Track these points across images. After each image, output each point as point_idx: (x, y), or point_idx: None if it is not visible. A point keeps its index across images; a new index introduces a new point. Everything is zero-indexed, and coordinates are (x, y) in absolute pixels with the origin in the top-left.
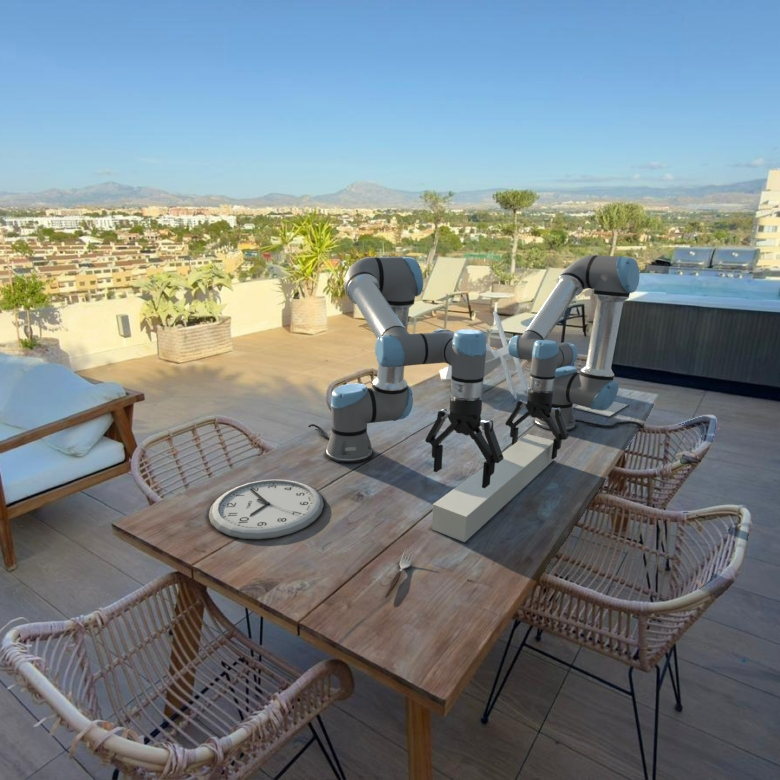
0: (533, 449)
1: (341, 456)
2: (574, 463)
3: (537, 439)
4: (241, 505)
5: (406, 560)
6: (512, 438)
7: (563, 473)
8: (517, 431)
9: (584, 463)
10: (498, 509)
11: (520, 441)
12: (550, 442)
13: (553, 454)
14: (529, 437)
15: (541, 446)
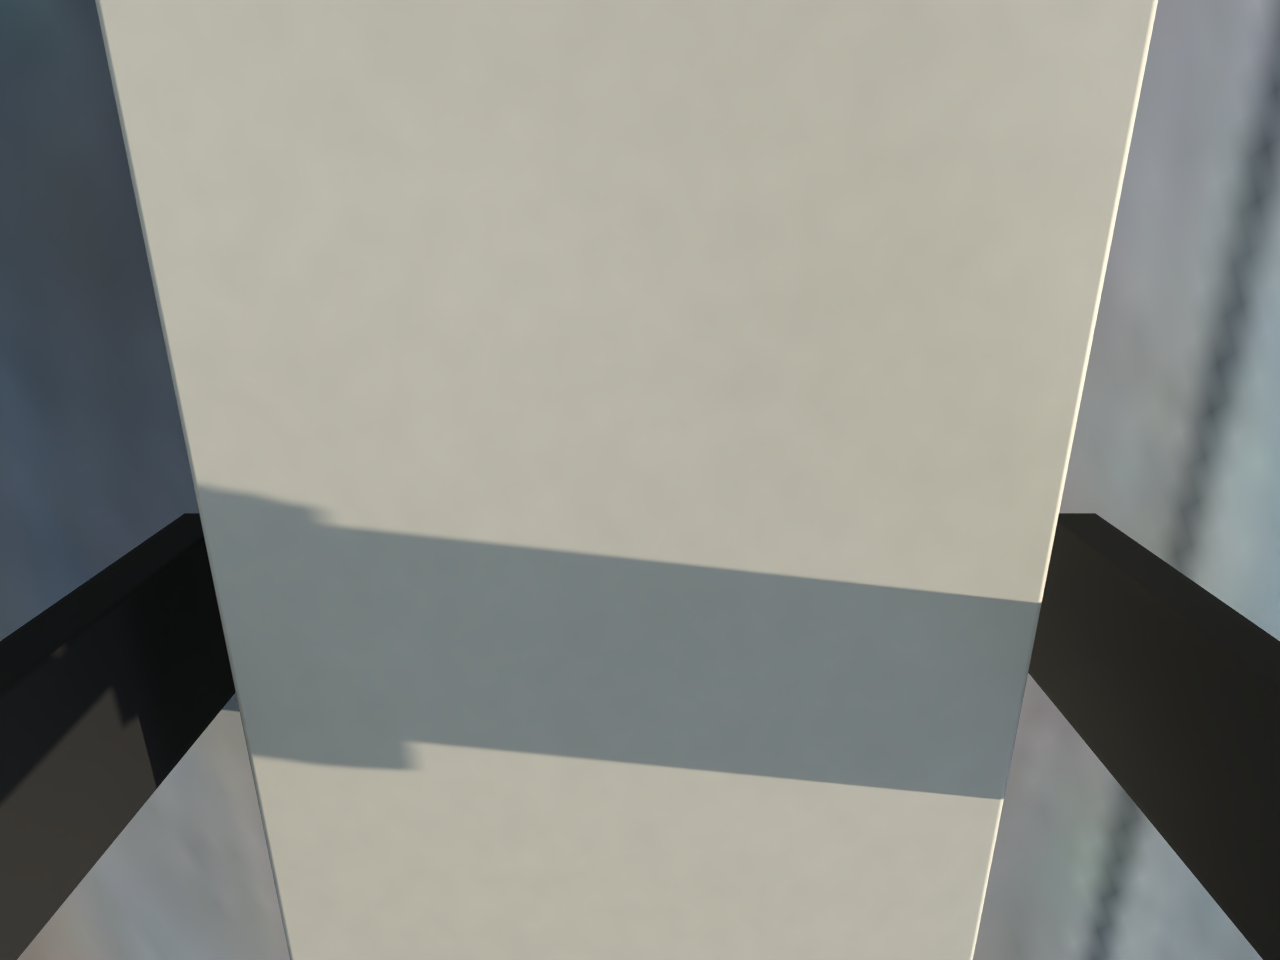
0: (440, 232)
1: None
2: (182, 818)
3: (653, 908)
4: None
5: None
6: (1243, 625)
7: (105, 441)
8: (1274, 905)
9: (96, 884)
10: None
11: (986, 559)
12: (337, 924)
13: (133, 560)
14: (858, 904)
15: (371, 588)
